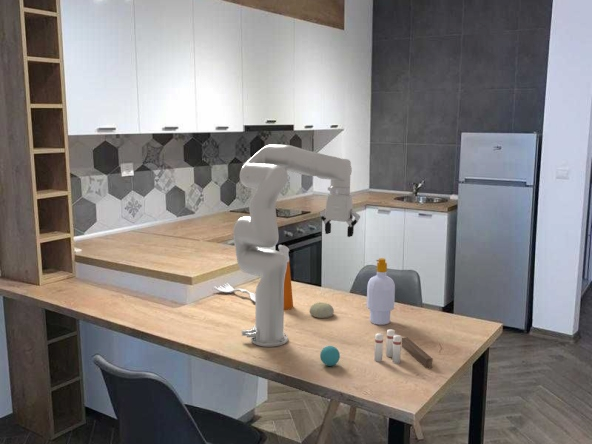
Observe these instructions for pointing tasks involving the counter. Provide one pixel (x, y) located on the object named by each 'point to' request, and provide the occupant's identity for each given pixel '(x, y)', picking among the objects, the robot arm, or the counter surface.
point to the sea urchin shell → (321, 310)
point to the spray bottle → (287, 280)
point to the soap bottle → (380, 295)
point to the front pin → (378, 347)
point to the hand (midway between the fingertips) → (338, 234)
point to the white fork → (228, 289)
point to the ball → (329, 355)
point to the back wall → (417, 352)
